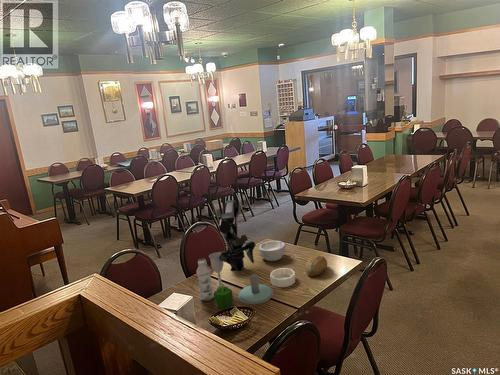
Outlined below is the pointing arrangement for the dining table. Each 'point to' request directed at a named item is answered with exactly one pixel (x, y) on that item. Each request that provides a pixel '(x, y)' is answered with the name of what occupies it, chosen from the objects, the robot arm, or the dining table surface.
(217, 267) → the chalice
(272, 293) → the mat
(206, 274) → the plastic bottle
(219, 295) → the bell pepper
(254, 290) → the lid
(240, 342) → the dining table surface
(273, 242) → the paper bowls
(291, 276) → the bowl
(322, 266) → the bread roll
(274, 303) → the dining table surface
